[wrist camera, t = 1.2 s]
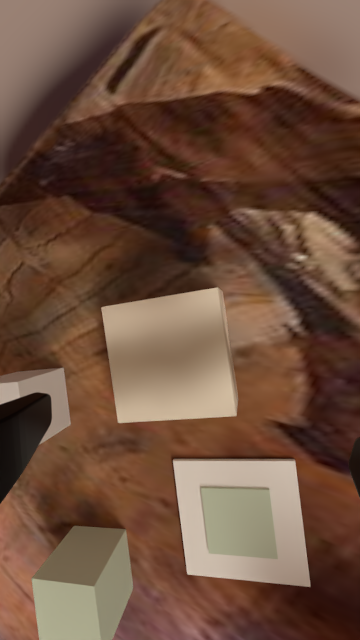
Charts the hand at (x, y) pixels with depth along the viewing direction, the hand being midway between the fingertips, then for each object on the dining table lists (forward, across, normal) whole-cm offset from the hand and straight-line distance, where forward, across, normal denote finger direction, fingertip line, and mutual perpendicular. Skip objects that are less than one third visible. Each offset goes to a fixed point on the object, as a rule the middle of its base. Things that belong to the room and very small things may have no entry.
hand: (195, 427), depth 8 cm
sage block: (+10, +6, +21) cm, 24 cm away
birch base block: (+13, +2, +3) cm, 14 cm away
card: (+10, -4, +14) cm, 18 cm away
